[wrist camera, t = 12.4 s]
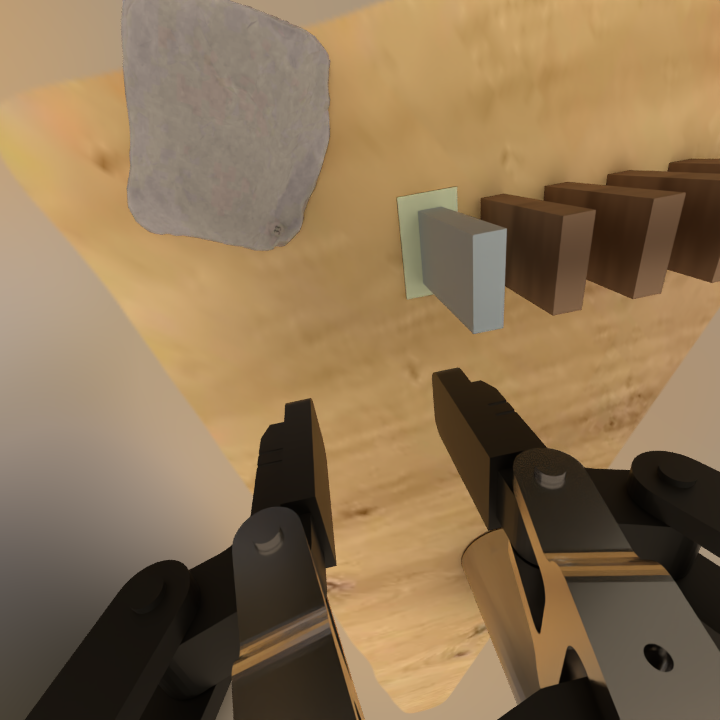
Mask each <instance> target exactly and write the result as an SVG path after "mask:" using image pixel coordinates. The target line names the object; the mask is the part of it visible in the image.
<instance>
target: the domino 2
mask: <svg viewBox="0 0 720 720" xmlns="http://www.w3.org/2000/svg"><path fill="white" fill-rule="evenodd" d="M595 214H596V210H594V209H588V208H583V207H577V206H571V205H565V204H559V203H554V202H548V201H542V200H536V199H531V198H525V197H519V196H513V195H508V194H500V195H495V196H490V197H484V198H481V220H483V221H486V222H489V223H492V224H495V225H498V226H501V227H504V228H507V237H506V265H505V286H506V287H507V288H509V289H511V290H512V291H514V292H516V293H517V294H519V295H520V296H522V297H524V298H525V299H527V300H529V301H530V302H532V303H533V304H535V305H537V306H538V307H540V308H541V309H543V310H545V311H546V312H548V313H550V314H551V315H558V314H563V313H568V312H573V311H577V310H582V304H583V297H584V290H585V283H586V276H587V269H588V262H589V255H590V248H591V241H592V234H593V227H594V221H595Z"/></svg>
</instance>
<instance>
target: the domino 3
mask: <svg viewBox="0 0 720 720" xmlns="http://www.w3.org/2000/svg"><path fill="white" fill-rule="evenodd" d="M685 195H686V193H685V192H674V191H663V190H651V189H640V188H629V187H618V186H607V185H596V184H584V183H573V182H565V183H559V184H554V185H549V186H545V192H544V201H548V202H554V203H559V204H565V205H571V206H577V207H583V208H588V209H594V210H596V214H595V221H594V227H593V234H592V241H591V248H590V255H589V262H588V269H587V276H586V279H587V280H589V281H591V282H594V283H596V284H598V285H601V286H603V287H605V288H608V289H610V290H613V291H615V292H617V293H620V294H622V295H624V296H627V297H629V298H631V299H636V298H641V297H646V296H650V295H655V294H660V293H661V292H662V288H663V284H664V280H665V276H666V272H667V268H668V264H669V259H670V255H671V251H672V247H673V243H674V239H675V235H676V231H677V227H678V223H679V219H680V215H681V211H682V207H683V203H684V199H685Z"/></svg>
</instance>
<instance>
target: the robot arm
mask: <svg viewBox="0 0 720 720" xmlns="http://www.w3.org/2000/svg"><path fill="white" fill-rule="evenodd" d="M432 384H433V398H434V413H435V421H436V425H437V429H438V432H439V434H440V437H441V439H442V441H443V443H444V445H445V447H446V449H447V451H448V452H449V454H450V456H451V458H452V460H453V462H454V464H455V466H456V468H457V470H458V472H459V474H460V476H461V478H462V480H463V482H464V484H465V486H466V488H467V490H468V492H469V494H470V496H471V498H472V500H473V502H474V503H475V505H476V507H477V509H478V511H479V513H480V515H481V517H482V519H483V521H484V523H485V525H486V527H487V529H488V531H489V530H493V529H497V528H503V529H499V530H495V531H492V532H490V533H488V534H486V535H484V536H482V537H480V538H479V539H477V540H476V541H475V542H473V543H472V544H471V545H470V546H469V547H468V549H467V550H466V551H465V553H464V555H463V558H462V567H463V570H464V572H465V575H466V577H467V580H468V582H469V585H470V587H471V590H472V592H473V595H474V597H475V600H476V603H477V605H478V608H479V610H480V613H481V615H482V618H483V620H484V623H485V625H486V628H487V630H488V633H489V635H490V638H491V640H492V642H493V645H494V648H495V650H496V653H497V655H498V658H499V660H500V663H501V665H502V668H503V670H504V673H505V675H506V678H507V680H508V682H509V685H510V687H511V690H512V692H513V695H514V698H515V700H516V703H517V706H516V707H514V708H513V709H512V710H510V711H509V712H507V713H506V714H505V715H503V716H502V717H501V718H499V719H498V720H720V566H718V565H716V564H715V563H713V562H712V561H710V560H709V559H707V558H706V557H704V556H702V555H701V554H699V553H698V552H699V550H700V548H701V546H702V547H703V548H705V549H707V550H708V551H710V552H711V553H713V554H715V555H716V556H718V557H720V472H719V471H717V470H715V469H713V468H711V467H708V466H707V465H704V464H702V463H700V462H698V461H696V460H694V459H692V458H689V457H686V456H684V455H681V454H677V453H673V452H667V451H649V452H645V453H642V454H640V455H638V456H637V457H636V458H634V460H633V462H632V465H631V469H630V470H612V469H592V468H585V467H583V465H582V464H581V463H580V462H579V461H577V460H576V459H575V458H574V457H572V456H570V455H568V454H566V453H564V452H561V451H558V450H555V449H550V448H547V447H546V446H545V445H544V444H543V443H542V441H541V440H540V439H539V438H538V437H537V436H536V434H535V433H534V432H533V431H532V430H531V429H530V427H529V426H528V425H527V424H526V423H525V422H524V420H523V419H522V418H521V417H520V416H519V415H518V413H517V412H515V411H514V409H513V408H512V406H511V405H510V404H509V403H508V402H506V399H505V398H504V397H503V396H502V395H501V394H500V392H499V391H498V390H497V389H496V388H494V387H492V386H490V385H488V384H487V383H485V382H483V381H481V380H480V381H476V382H470V380H469V379H468V378H467V376H466V375H465V374H464V373H463V371H462V370H461V369H460V368H453V369H448V370H444V371H439V372H434V373H433V375H432ZM257 465H258V468H257V472H256V479H255V487H254V494H253V502H252V510H251V516H250V517H249V518H248V519H247V520H246V521H245V522H244V523H243V524H242V525H241V527H240V528H239V529H238V531H237V533H236V534H235V537H234V540H233V544H232V545H231V546H230V547H229V548H228V549H226V550H225V551H223V552H222V553H220V554H218V555H217V556H215V557H213V558H211V559H209V560H207V561H205V562H204V563H201V564H200V565H198V566H196V567H194V568H192V569H190V570H188V569H187V567H186V566H185V565H184V564H183V563H181V562H179V561H176V560H165V561H160V562H157V563H154V564H152V565H150V566H148V567H146V568H145V569H143V570H141V571H140V572H138V573H137V574H136V575H134V576H133V577H132V578H131V579H130V580H129V581H128V582H127V583H126V584H125V585H124V586H123V587H122V589H121V590H120V591H119V592H118V594H117V595H116V597H115V598H114V599H113V601H112V602H111V603H110V605H109V606H108V607H107V609H106V610H105V612H104V613H103V614H102V616H101V617H100V618H99V620H98V621H97V622H96V624H95V625H94V626H93V628H92V629H91V631H90V632H89V633H88V634H87V636H86V637H85V639H84V640H83V641H82V643H81V644H80V645H79V647H78V648H77V649H76V651H75V652H74V654H73V655H72V656H71V658H70V659H69V660H68V662H67V663H66V664H65V666H64V667H63V668H62V670H61V671H60V673H59V674H58V675H57V677H56V678H55V679H54V681H53V682H52V683H51V685H50V686H49V688H48V689H47V690H46V692H45V693H44V694H43V696H42V697H41V698H40V700H39V701H38V703H37V704H36V705H35V707H34V708H33V709H32V711H31V712H30V713H29V715H28V716H27V718H26V719H25V720H215V719H216V716H217V714H218V712H219V709H220V707H221V704H222V702H223V700H224V697H225V695H226V692H227V690H228V687H229V685H230V683H231V684H232V703H233V720H365V718H364V715H363V712H362V709H361V706H360V703H359V700H358V697H357V693H356V690H355V687H354V684H353V680H352V677H351V674H350V670H349V667H348V664H347V661H346V657H345V654H344V650H343V647H342V644H341V640H340V637H339V634H338V631H337V627H336V624H335V620H334V617H333V614H332V610H331V607H330V604H329V600H328V597H327V582H326V568H329V567H333V566H337V565H336V555H335V544H334V533H333V523H332V512H331V501H330V491H329V480H328V469H327V459H326V453H325V447H324V442H323V438H322V434H321V431H320V427H319V423H318V419H317V415H316V412H315V408H314V404H313V401H312V399H311V398H309V399H304V400H300V401H295V402H290V403H286V404H285V418H284V422H282V423H277V424H272V425H270V426H269V427H268V429H267V430H266V432H265V433H264V435H263V436H262V438H261V442H260V449H259V457H258V464H257ZM231 680H232V682H231Z"/></svg>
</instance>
